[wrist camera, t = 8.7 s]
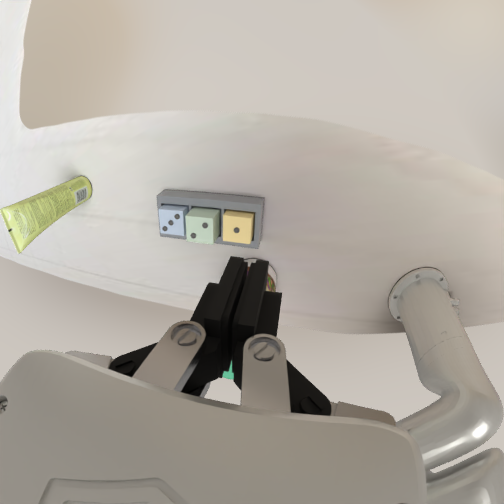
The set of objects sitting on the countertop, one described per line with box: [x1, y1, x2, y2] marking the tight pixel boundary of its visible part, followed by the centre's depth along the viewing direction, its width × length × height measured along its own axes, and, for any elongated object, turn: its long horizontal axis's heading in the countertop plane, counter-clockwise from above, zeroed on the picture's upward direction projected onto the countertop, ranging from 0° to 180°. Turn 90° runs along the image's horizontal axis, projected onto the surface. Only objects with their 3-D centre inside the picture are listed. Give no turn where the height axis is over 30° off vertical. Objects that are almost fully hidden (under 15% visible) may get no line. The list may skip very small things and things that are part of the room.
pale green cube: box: [185, 207, 220, 245], centre depth 39 cm, size 4×4×4 cm
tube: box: [0, 176, 92, 254], centre depth 36 cm, size 6×5×20 cm
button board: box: [157, 190, 264, 249], centre depth 42 cm, size 16×7×3 cm, turn 86°
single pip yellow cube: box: [223, 209, 255, 244], centre depth 40 cm, size 4×4×4 cm
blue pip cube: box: [158, 204, 189, 236], centre depth 41 cm, size 4×4×4 cm
